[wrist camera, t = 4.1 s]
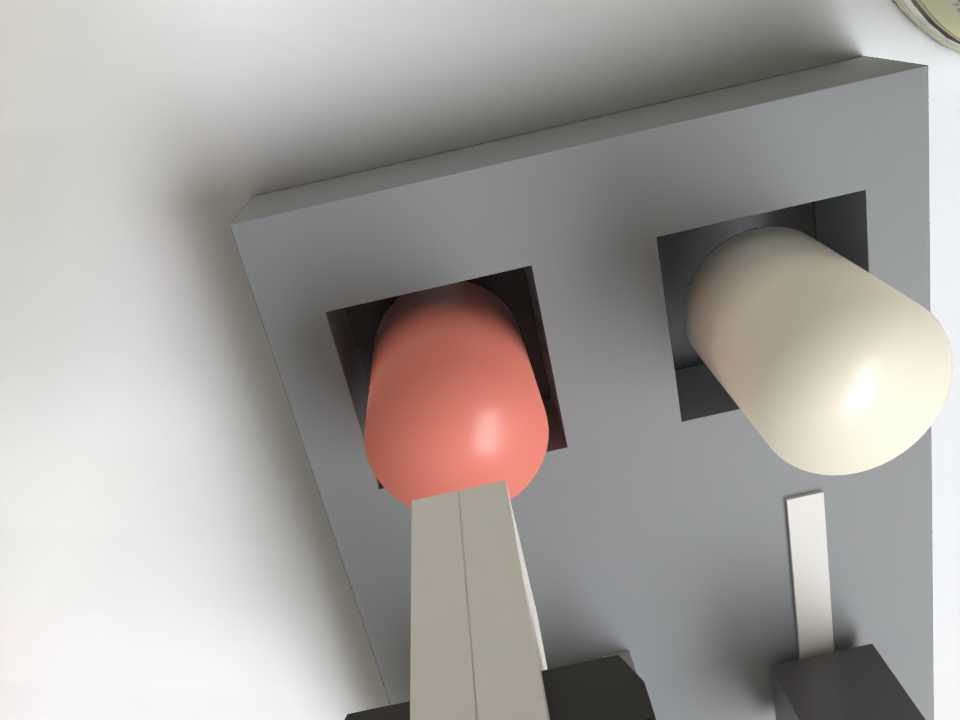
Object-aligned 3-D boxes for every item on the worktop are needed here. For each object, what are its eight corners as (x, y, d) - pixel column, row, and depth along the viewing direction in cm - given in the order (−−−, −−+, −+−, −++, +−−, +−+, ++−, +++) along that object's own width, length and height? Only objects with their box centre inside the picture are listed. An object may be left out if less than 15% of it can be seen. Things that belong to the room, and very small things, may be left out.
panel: (252, 196, 23) (200, 263, 17) (864, 56, 22) (1012, 78, 17) (431, 755, 31) (435, 925, 25) (886, 657, 30) (991, 806, 25)
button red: (356, 298, 23) (342, 376, 18) (506, 264, 23) (530, 333, 18) (394, 431, 25) (390, 533, 20) (535, 400, 24) (563, 495, 20)
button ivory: (674, 246, 21) (745, 317, 17) (836, 210, 21) (953, 271, 17) (693, 392, 23) (763, 493, 18) (843, 358, 23) (952, 451, 18)
